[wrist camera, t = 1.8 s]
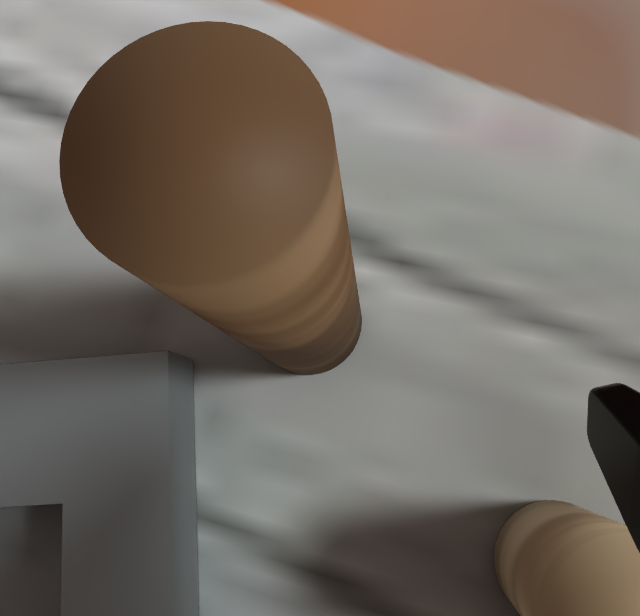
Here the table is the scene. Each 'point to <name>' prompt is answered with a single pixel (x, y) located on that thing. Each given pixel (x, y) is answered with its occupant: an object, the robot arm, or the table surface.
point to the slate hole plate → (109, 475)
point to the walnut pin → (220, 187)
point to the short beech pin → (567, 562)
